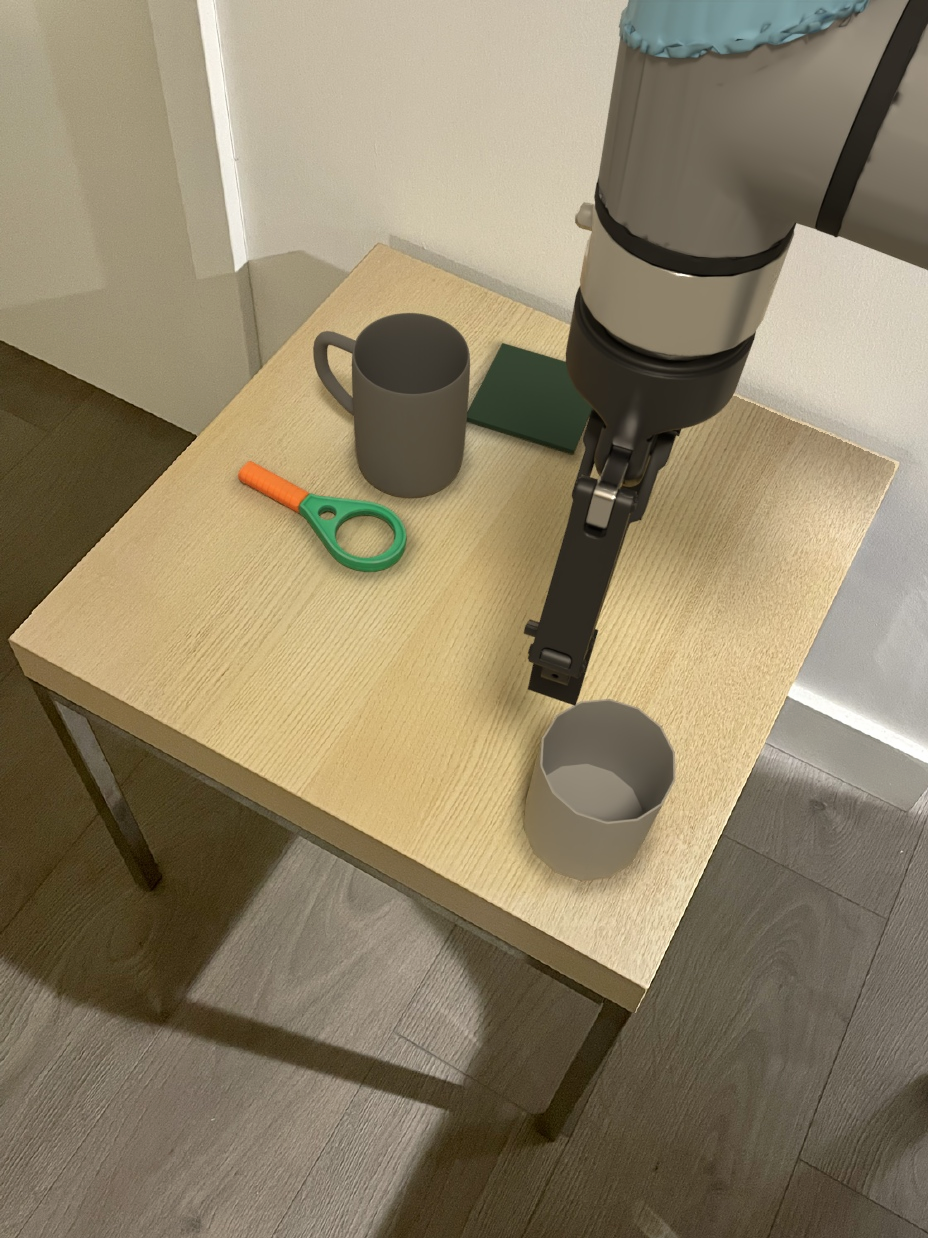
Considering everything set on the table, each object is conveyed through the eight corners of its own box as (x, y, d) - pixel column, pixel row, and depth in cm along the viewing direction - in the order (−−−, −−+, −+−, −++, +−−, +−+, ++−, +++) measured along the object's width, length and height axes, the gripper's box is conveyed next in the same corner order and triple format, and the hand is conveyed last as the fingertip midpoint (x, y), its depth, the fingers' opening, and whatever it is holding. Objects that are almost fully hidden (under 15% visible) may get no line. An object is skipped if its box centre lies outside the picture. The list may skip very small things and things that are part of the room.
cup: (560, 746, 77) (580, 677, 69) (663, 803, 75) (697, 739, 67) (502, 841, 73) (515, 779, 64) (609, 904, 71) (638, 849, 62)
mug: (482, 446, 92) (493, 339, 82) (428, 517, 88) (432, 413, 78) (348, 384, 95) (343, 274, 85) (289, 450, 91) (276, 342, 81)
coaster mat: (605, 378, 97) (606, 373, 97) (573, 455, 92) (574, 450, 92) (501, 347, 99) (502, 342, 98) (464, 421, 94) (464, 416, 93)
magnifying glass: (420, 533, 87) (421, 520, 85) (379, 585, 84) (379, 572, 82) (268, 455, 90) (266, 441, 89) (223, 502, 87) (220, 488, 86)
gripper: (656, 115, 51) (588, 426, 68) (477, 494, 38) (451, 757, 55) (812, 156, 50) (702, 461, 67) (684, 560, 36) (590, 807, 54)
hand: (589, 595), depth 61 cm, fingers open, 13 cm apart
